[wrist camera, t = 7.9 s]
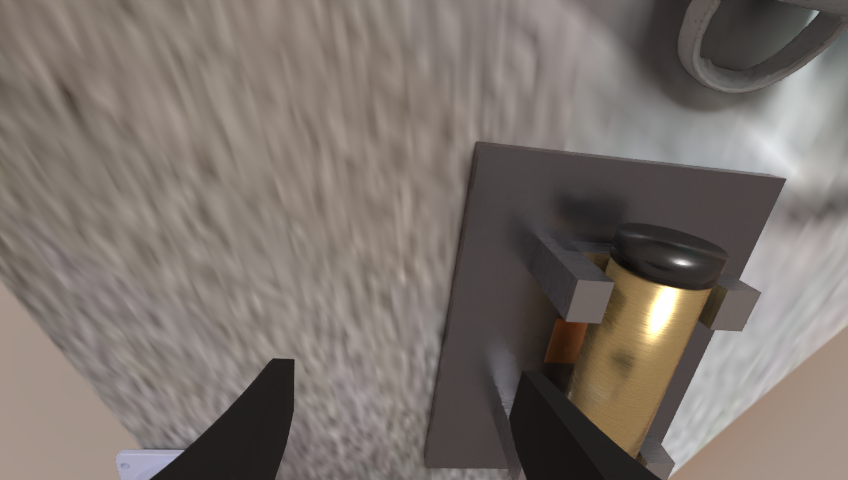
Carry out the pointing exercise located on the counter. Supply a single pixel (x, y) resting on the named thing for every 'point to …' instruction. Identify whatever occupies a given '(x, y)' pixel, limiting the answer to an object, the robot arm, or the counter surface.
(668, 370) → the brass tube
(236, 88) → the counter surface
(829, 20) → the ceramic mug
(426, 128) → the counter surface
